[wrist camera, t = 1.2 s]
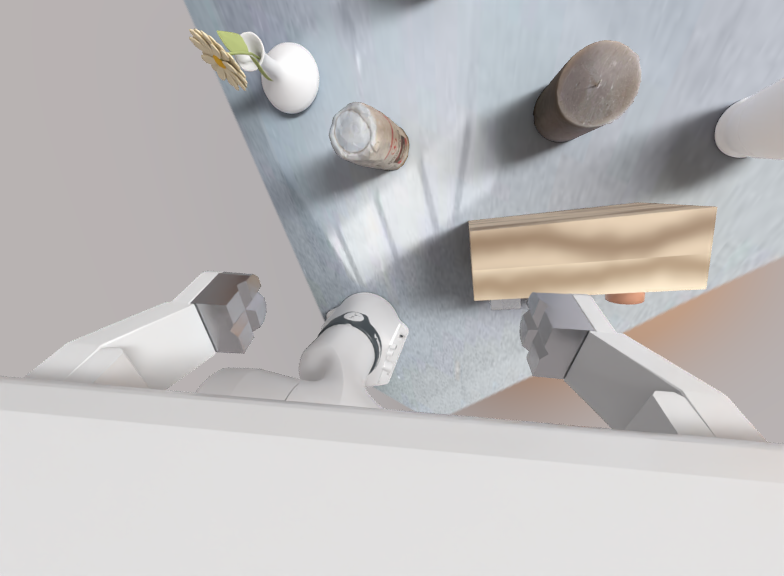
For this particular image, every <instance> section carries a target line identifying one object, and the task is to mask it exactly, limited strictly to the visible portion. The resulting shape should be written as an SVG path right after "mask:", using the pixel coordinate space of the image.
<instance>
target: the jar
mask: <svg viewBox="0 0 784 576" xmlns="http://www.w3.org/2000/svg"><path fill="white" fill-rule="evenodd" d="M715 141H716V144H717V146H718V148H719V149H720V150H721V151H722V152H723V153H725V154H726V155H728V156H731V157H737V158H744V157H753V158H763V159H776V160H784V78H782V79H780V80H778V81H777V82H775V83H773V84H771V85H770V86H768V87H766V88H764V89H762V90H760V91H758V92H757V93H755V94H754V95H752V96H751V97H748V98H745V99H742V100H740V101H738V102H736V103H735V104H733V105H732V106H730V107H729V108H728V109H727V110H726V111H725V112H724V113H723V115H722V116H721V117H720V119H719V121H718V123H717V125H716V129H715Z"/></svg>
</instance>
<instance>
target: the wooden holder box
mask: <svg viewBox="0 0 784 576" xmlns="http://www.w3.org/2000/svg"><path fill="white" fill-rule="evenodd" d="M716 212H717V207H712V206H693V205H675V204H657V203H629V204H620V205H610V206H601V207H592V208H583V209H574V210H564V211H555V212H546V213H537V214H527V215H518V216H509V217H500V218H491V219H481V220H472V221H468V222H469V239H470V255H471V271H472V282H473V292H474V301H479V300H498V299H518V298H529V296H530V295H531V293H532V292H541V293H561V294H588V295H598V294H618V293H637V292H657V291H677V290H697V289H706V286H707V279H708V271H709V264H710V257H711V249H712V242H713V235H714V227H715V220H716Z"/></svg>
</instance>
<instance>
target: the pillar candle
mask: <svg viewBox="0 0 784 576" xmlns="http://www.w3.org/2000/svg"><path fill="white" fill-rule="evenodd" d="M639 61H640V59H639V56H638V54H637V53H634V52H633V51H632V50H631V49H630V48H629V47H628V46H626V45H624V44H622V43H620V42H617V41H609V40H604V41H599V42H595V43H593V44H590V45H588V46H586V47H585V48H583V49H582V50H580V51H579V52H577V53H576V54H575V55H574V56H573V57H572V58H571V59H570V60H569V61H568V62H567V63H566V64H565V65H564V67H563V68H562V69H561V70H560V71H559V73H558V74H557V75H556V76H555V77H554V79H553V80H552V81H551V82H550V84H549V85H548V86H547V87H546V88H545V89H544V90H543V92H542V93H541V94H540V96H539V97H538V99H537V101H536V104H535V107H534V111H533V115H534V124H535V126H536V129H537V130H538V132H539V133H540V134H541V135H542V136H543V137H544V138H546V139H548V140H550V141H554V142H565V141H569V140H572V139H575V138H577V137H579V136H581V135H583V134H586V133H588V132H590V131H592V130H594V129H596V128H599V127H601V126H603V125H605V124H610V123H612V122H613V121H614V120H616V119H618V118H620V117H621V116H622V114H623V113H625V111H626V110H627V109H628V107H629V106H630V105H631V104H632V103H633V102H634V101H633V100H634V98H635V97H636V95H637V93H638V89H639V85H640V82H641V67H640V63H639Z"/></svg>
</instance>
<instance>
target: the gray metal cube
mask: <svg viewBox="0 0 784 576" xmlns="http://www.w3.org/2000/svg"><path fill="white" fill-rule="evenodd" d="M489 302H490V307H491V310H502V309H521V298H518V299H498V300H489Z"/></svg>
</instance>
